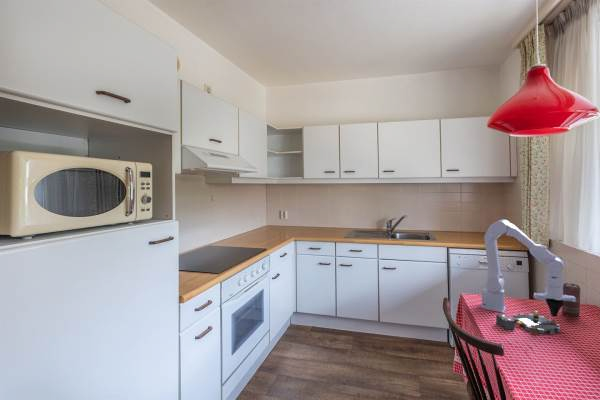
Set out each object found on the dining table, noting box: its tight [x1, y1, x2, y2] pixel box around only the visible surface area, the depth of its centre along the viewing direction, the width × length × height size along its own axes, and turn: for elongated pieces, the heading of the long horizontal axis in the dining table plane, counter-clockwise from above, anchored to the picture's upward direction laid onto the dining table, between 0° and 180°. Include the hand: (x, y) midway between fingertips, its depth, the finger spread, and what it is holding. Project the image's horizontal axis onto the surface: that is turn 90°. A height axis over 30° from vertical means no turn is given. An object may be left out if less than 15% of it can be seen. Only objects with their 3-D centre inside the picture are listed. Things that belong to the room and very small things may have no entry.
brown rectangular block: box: [530, 327, 538, 336], centre depth 124 cm, size 2×1×3 cm, turn 50°
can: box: [561, 282, 581, 318], centre depth 141 cm, size 6×6×14 cm
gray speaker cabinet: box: [495, 313, 516, 331], centre depth 131 cm, size 6×4×4 cm, turn 0°
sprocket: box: [512, 310, 561, 335], centre depth 132 cm, size 16×16×4 cm
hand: (553, 315), depth 134 cm, fingers closed
